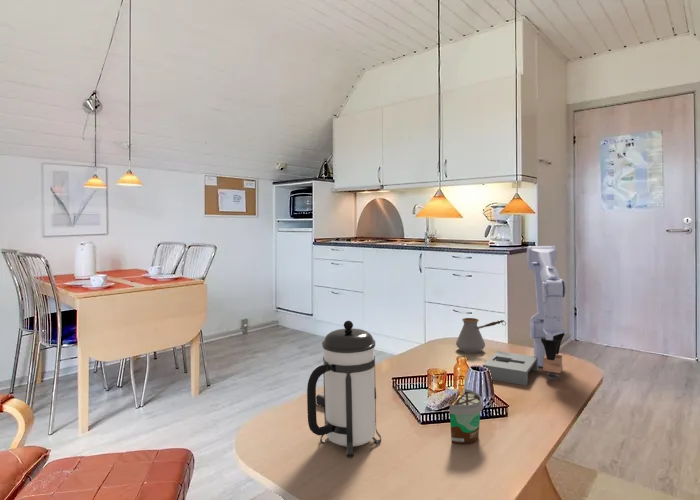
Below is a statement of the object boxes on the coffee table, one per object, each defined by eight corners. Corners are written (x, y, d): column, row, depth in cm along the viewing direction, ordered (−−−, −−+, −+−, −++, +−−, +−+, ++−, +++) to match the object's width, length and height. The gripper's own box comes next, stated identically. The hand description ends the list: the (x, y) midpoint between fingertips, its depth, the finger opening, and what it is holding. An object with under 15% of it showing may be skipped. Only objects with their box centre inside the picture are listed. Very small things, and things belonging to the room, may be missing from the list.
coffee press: (321, 426, 118) (318, 314, 116) (382, 428, 116) (380, 314, 114) (308, 462, 101) (304, 330, 99) (379, 465, 99) (377, 331, 97)
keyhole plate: (497, 363, 167) (497, 351, 166) (537, 369, 159) (537, 356, 159) (482, 377, 152) (482, 364, 151) (526, 385, 144) (526, 371, 144)
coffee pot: (450, 350, 184) (449, 314, 183) (467, 345, 191) (467, 310, 190) (496, 362, 167) (496, 322, 166) (513, 356, 174) (513, 318, 173)
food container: (475, 452, 104) (475, 410, 103) (449, 446, 107) (449, 405, 106) (489, 430, 114) (489, 392, 113) (465, 425, 117) (465, 388, 117)
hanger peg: (545, 374, 153) (546, 353, 153) (561, 377, 151) (562, 355, 150) (543, 379, 149) (543, 357, 149) (559, 382, 146) (559, 359, 146)
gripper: (563, 321, 140) (562, 364, 141) (569, 313, 152) (569, 352, 153) (538, 319, 144) (538, 361, 145) (547, 311, 156) (547, 350, 157)
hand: (552, 356), depth 149 cm, fingers open, 7 cm apart
